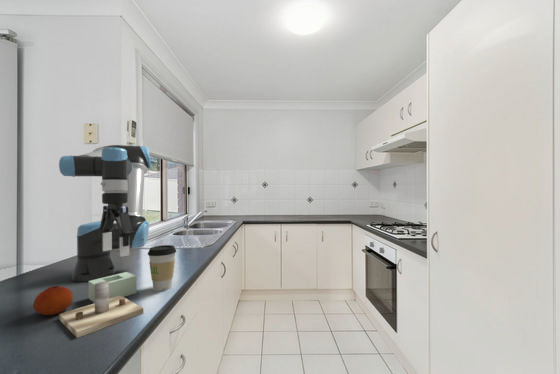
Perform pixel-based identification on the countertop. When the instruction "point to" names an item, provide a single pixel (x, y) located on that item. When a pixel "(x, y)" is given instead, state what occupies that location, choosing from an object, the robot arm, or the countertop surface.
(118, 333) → the countertop surface
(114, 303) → the post base
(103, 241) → the robot arm
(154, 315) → the countertop surface
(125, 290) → the green block with window
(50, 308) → the fruit
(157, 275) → the coffee cup
